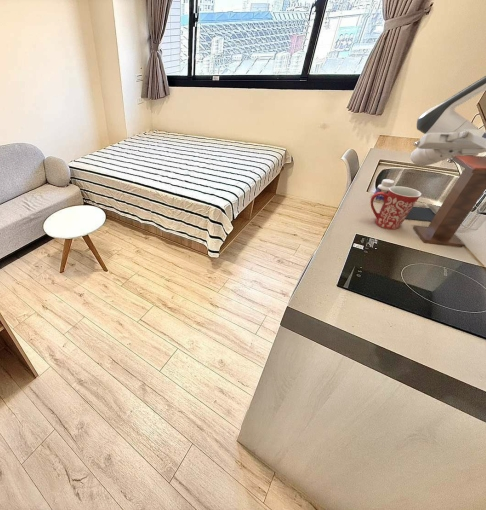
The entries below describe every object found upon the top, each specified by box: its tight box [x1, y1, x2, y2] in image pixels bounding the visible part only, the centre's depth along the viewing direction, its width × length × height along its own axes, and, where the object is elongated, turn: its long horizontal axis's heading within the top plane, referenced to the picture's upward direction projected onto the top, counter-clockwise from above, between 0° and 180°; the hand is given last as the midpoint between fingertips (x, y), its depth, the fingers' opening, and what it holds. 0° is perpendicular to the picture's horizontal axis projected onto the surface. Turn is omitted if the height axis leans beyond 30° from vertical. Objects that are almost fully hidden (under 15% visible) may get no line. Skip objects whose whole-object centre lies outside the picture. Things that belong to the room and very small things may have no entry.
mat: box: [404, 205, 436, 223], centre depth 109 cm, size 12×12×1 cm
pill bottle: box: [373, 178, 395, 204], centre depth 117 cm, size 5×5×9 cm
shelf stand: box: [412, 155, 486, 248], centre depth 88 cm, size 10×12×26 cm
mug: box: [370, 185, 422, 230], centre depth 101 cm, size 13×9×14 cm
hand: (477, 133), depth 85 cm, fingers closed on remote, 4 cm apart
